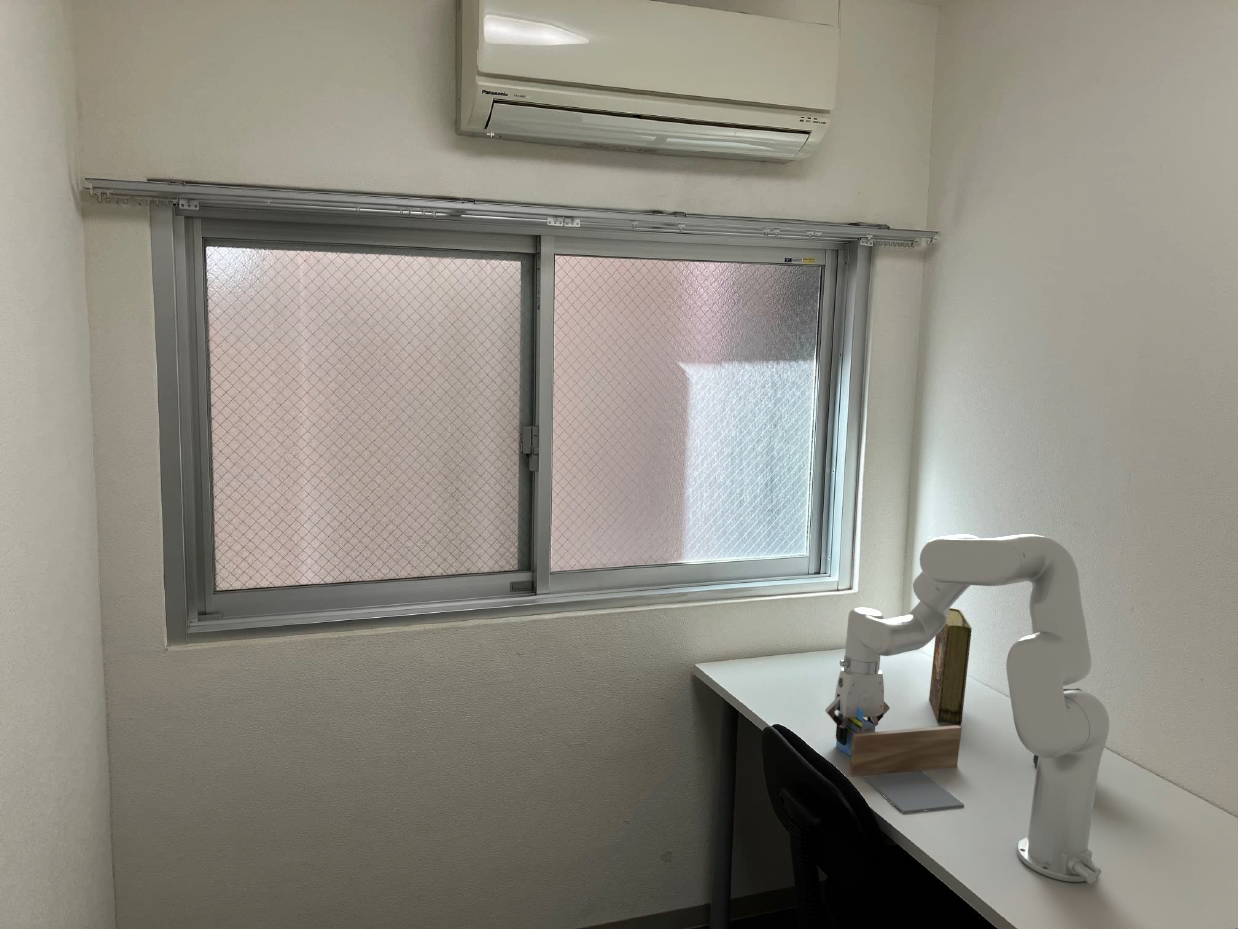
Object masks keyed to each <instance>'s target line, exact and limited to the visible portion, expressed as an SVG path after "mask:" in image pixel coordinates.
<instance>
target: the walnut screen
mask: <svg viewBox="0 0 1238 929" xmlns="http://www.w3.org/2000/svg"><path fill="white" fill-rule="evenodd" d="M961 734H962V727H961V725H959V724H955V725H944V726H931V727H919V728H909V729H896V730H884V731H875V732H867V733H855V734H853V739H852V750H851V756H850V762H849V771H848V772H849V773H848V774H849V775H850V776H851V777H861V776H874V775H885V774H893V773H892V772H894V773H906V772H916V771H924V770H936V769H944V768H954V767H955V768H957V767H958V763H959V755H960V754H959V752H960V746H961V744H960V743H961Z"/></svg>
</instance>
